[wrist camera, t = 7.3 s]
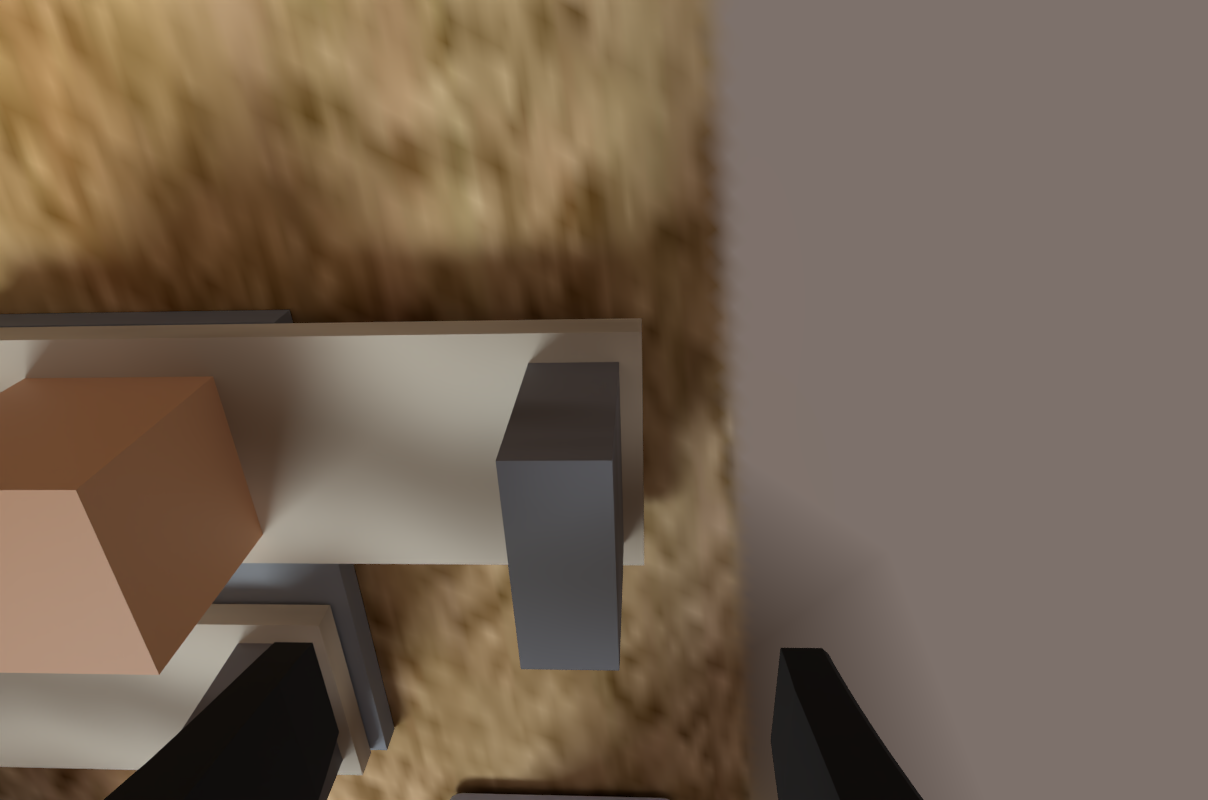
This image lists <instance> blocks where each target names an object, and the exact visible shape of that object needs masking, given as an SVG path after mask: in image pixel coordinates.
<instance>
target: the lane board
mask: <svg viewBox="0 0 1208 800" xmlns="http://www.w3.org/2000/svg"><path fill="white" fill-rule="evenodd" d="M277 323H293V321H292V317H291V313H290V310H240V311H176V312H111V313H47V314H0V327H69V326H139V325H208V324H277ZM212 604H283V605H330V607H331V610H332V614H333V617H334V621H335V625H336V628H337V632H338V635H339V639H340V643H341V646H342V650H343V653H344V657H345V661H346V664H347V668H348V671H349V675H350V679H351V682H352V686H353V689H354V693H355V697H356V700H357V704H358V707H359V711H360V715H361V718H362V722H363V725H364V729H365V733H366V736H367V740H368V743H369V747H370V750H387V749H388V746H389V743H390V740H391V737H392V734H393V732H394V725H393V721H392V717H391V713H390V709H389V705H388V701H387V697H386V693H385V689H384V685H383V681H382V677H381V673H380V669H379V665H378V661H377V657H376V653H375V649H374V645H373V641H372V637H371V633H370V629H369V625H368V621H367V617H366V613H365V609H364V605H363V601H362V597H361V593H360V589H359V585H358V581H357V577H356V573H355V569H354V565H353V564H309V563H242V564H241V565H240V566H239V568H238V569H237V570H236V572H235V573H234V574H233V576H232V577H231V578H230V580H229V581H228V583H227V584H226V585H225V587H224V588H223V589H222V591H221V592H220V593H219V595H218V596H217V597H216V599H215V600H214V601H213V603H212Z"/></svg>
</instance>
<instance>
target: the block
mask: <svg viewBox="0 0 1208 800" xmlns="http://www.w3.org/2000/svg"><path fill="white" fill-rule="evenodd" d="M262 535H263V533H262V529H261V526H260V523H259V520H258V517H257V514H256V510H255V507H254V504H253V501H252V498H251V495H250V491H249V488H248V485H247V482H246V479H245V476H244V473H243V469H242V466H241V463H240V460H239V457H238V454H237V450H236V447H235V444H234V441H233V438H232V435H231V431H230V428H229V425H228V422H227V419H226V416H225V412H224V409H223V406H222V403H221V400H220V397H219V393H218V390H217V387H216V384H215V381H214V378H213V376H203V377H104V378H25V379H23V380H21V381H19V382H18V383H16V384H14V385H12V386H11V387H9V388H7V389H6V390H4V391H2V392H0V673H56V674H125V675H160V673H161V672H162V670H163V669H164V668H165V666H166V665H167V664H168V662H169V661H170V660H171V658H172V657H173V656H174V654H175V653H176V652H177V650H178V649H179V647H180V646H181V645H182V643H183V642H184V641H185V639H186V638H187V637H188V635H189V634H190V633H191V631H192V630H193V629H194V627H195V626H196V624H197V623H198V622H199V620H200V619H201V618H202V616H203V615H204V614H205V612H206V611H207V610H208V608H209V607H210V606H211V604H212V603H213V601H214V600H215V599H216V597H217V596H218V595H219V593H220V592H221V591H222V589H223V588H224V587H225V585H226V584H227V583H228V581H229V580H230V578H231V577H232V576H233V574H234V573H235V572H236V570H237V569H238V568H239V566H240V565H241V564H242V562H243V561H244V560H245V558H246V557H247V555H248V554H249V553H250V551H251V550H252V549H253V547H254V546H255V545H256V543H257V542H258V541H259V539H260V538H261V537H262Z"/></svg>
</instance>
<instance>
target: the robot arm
mask: <svg viewBox="0 0 1208 800" xmlns="http://www.w3.org/2000/svg"><path fill="white" fill-rule="evenodd" d="M338 735H339V730H338V726H337V723H336V720H335V716H334V713H333V709H332V706H331V703H330V699H329V696H328V693H327V689H326V686H325V683H324V679H323V676H322V672H321V669H320V666H319V662H318V659H317V656H316V652H315V649H314V646H313V643H310V642H274V643H273V644H272V645H271V646H270V647H269V648H268V649H267V650H266V651H265V652H263V653H262V654H261V655H260V656H259V657H258V658H257V659H256V660H255V661H254V662H253V663H252V664H251V665H250V666H249V667H248V668H247V669H246V670H244V671H243V672H242V673H241V674H240V675H239V676H238V677H237V678H236V679H235V680H234V681H233V682H232V683H231V684H230V685H229V686H228V687H227V688H226V689H225V690H223V691H222V692H221V693H220V694H219V695H218V696H217V697H216V698H215V699H214V700H213V701H212V702H211V703H210V704H209V705H208V706H207V707H206V708H205V709H203V710H202V711H201V712H200V713H199V714H198V715H197V716H196V717H195V718H194V719H193V720H192V721H191V722H190V723H189V724H188V725H187V726H185V727H184V728H183V729H182V730H181V731H180V732H179V733H178V734H177V735H176V736H175V737H174V738H172V739H171V740H170V741H169V742H168V743H167V744H166V745H165V746H164V747H163V748H162V749H161V750H159V751H158V752H157V753H156V754H155V755H154V756H153V757H152V758H151V759H150V760H149V761H148V762H147V763H145V764H144V765H143V766H142V767H141V768H140V769H139V770H137V771H136V772H135V773H134V774H133V775H132V776H130V777H129V778H128V779H127V780H126V781H125V782H124V783H122V784H121V785H120V786H119V787H118V788H117V789H116V790H114V791H113V792H112V793H111V794H110V795H109V796H107V797H106V798H105V799H104V800H319V797H320V794H321V791H322V788H323V785H324V782H325V779H326V775H327V772H328V769H329V766H330V762H331V759H332V755H333V752H334V748H335V745H336V741H337V738H338ZM771 746H772V754H773V762H774V770H775V778H776V785H777V793H778V800H923V798H922V797H921V796H920V794H919V793H918V792H917V790H916V789H915V787H914V786H913V785H912V784H911V782H910V780H909V779H908V778H907V776H906V775H905V773H904V772H903V770H902V769H901V768H900V766H899V765H898V763H897V762H896V761H895V759H894V758H893V756H892V755H891V754H890V752H889V751H888V749H887V748H886V746H885V745H884V743H883V742H882V740H881V739H880V737H879V736H878V734H877V733H876V731H875V730H874V728H873V727H872V725H871V724H870V722H869V721H868V719H867V717H866V716H865V714H864V713H863V711H862V710H861V708H860V707H859V705H858V704H857V702H856V700H855V699H854V697H853V695H852V694H851V692H850V690H849V689H848V687H847V686H846V684H845V682H844V681H843V679H842V677H841V676H840V674H839V672H838V670H837V669H836V667H835V665H834V664H833V662H832V660H831V658H830V656H829V654H828V653H827V652H825V651H824V650H823V649H822V648H781V649H780V659H779V668H778V677H777V687H776V697H775V706H774V716H773V724H772V733H771ZM450 800H669V799H666V798H650V797H608V796H566V795H524V794H482V793H459V794H456V795H454V796H452V798H451V799H450Z"/></svg>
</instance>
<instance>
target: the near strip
mask: <svg viewBox="0 0 1208 800" xmlns="http://www.w3.org/2000/svg"><path fill="white" fill-rule="evenodd" d="M203 376H213V378H214V381H215V384H216V387H217V390H218V393H219V397H220V400H221V403H222V406H223V409H224V412H225V416H226V419H227V422H228V425H229V428H230V431H231V435H232V438H233V441H234V444H235V447H236V450H237V454H238V457H239V460H240V463H241V466H242V469H243V473H244V476H245V479H246V482H247V485H248V488H249V491H250V495H251V498H252V501H253V504H254V507H255V510H256V514H257V517H258V520H259V523H260V526H261V529H262V533H263V535H262V537H261V538H260V539H259V541H258V542H257V543H256V545H255V546H254V547H253V549H252V550H251V551H250V553H249V554H248V555H247V557H246V558H245V560H244V561H243V562H242V563H309V564H497V565H508V567H509V575H510V583H511V592H512V600H513V608H514V616H515V624H516V633H517V641H518V649H519V657H520V665H521V669H555V670H619V664H620V637H621V609H622V581H623V565H644V496H643V398H642V318H624V319H555V320H486V321H416V322H347V323H277V324H208V325H139V326H69V327H0V392H2V391H4V390H6V389H7V388H9V387H11V386H12V385H14V384H16V383H18V382H19V381H21V380H23V379H25V378H104V377H203Z"/></svg>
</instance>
